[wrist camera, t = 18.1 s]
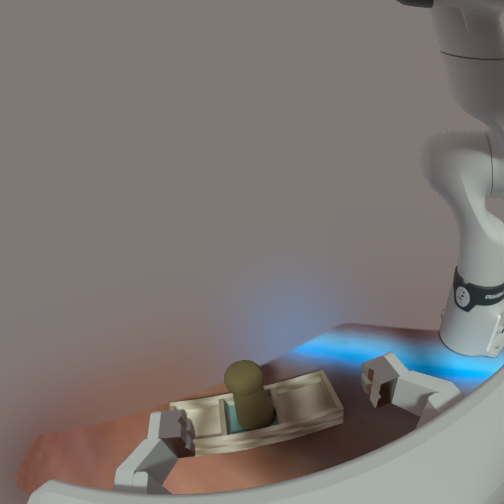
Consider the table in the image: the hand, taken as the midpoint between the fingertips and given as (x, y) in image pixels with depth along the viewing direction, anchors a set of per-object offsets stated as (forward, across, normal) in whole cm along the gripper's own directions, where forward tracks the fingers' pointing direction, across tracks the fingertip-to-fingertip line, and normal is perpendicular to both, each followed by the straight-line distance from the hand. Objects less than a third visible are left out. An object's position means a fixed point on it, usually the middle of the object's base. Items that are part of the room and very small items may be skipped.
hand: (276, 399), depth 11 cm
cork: (+19, +3, +26) cm, 32 cm away
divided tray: (+19, +3, +28) cm, 34 cm away
